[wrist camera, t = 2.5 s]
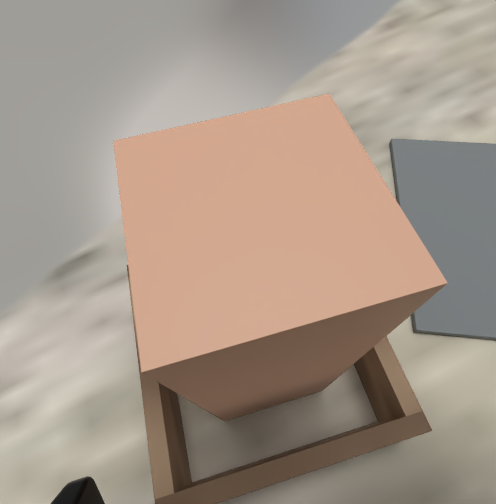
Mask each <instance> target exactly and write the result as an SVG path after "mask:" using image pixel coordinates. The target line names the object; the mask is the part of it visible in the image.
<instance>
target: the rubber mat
mask: <svg viewBox="0 0 496 504" xmlns="http://www.w3.org/2000/svg"><path fill="white" fill-rule="evenodd" d="M390 149H391V157H392V165H393V173H394V181H395V189H396V197H397V203H398V204H399V206H400V207H401V209H402V211H403V212H404V214H405V215H406V217H407V219H408V220H409V222H410V223H411V225H412V227H413V228H414V230H415V231H416V233H417V235H418V236H419V238H420V239H421V241H422V243H423V244H424V246H425V247H426V249H427V251H428V252H429V254H430V255H431V257H432V259H433V260H434V262H435V263H436V265H437V267H438V268H439V270H440V271H441V273H442V274H443V276H444V278H445V279H446V281H447V282H448V283H447V284H446V285H445V286H444V287H443V288H442V289H440V290H439V291H438V292H437V293H436V294H435V295H433V296H432V297H431V298H430V299H429V300H428V301H426V302H425V303H424V304H423V305H422V306H421V307H419V308H418V309H417V310H416V311H415V312H414V313H412V314H411V315H412V323H413V331H414V332H416V333H426V334H437V335H447V336H458V337H468V338H479V339H489V340H496V144H488V143H468V142H448V141H427V140H407V139H391V141H390Z"/></svg>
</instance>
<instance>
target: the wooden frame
mask: <svg viewBox="0 0 496 504" xmlns="http://www.w3.org/2000/svg"><path fill="white" fill-rule="evenodd" d="M127 271H128V279H129V288H130V296H131V305H132V313H133V322H134V330H135V338H136V347H137V355H138V364H139V372H140V380H141V389H142V397H143V406H144V414H145V423H146V431H147V439H148V448H149V456H150V465H151V473H152V481H153V490H154V498H155V504H217V503H220V502H223V501H226V500H229V499H232V498H235V497H238V496H241V495H244V494H247V493H249V492H252V491H255V490H258V489H261V488H264V487H267V486H270V485H273V484H276V483H279V482H282V481H285V480H288V479H291V478H294V477H297V476H300V475H303V474H306V473H309V472H312V471H314V470H317V469H320V468H323V467H326V466H329V465H332V464H335V463H338V462H341V461H344V460H347V459H350V458H353V457H356V456H359V455H362V454H365V453H368V452H371V451H374V450H376V449H379V448H382V447H385V446H388V445H391V444H394V443H397V442H400V441H403V440H406V439H409V438H412V437H415V436H418V435H421V434H424V433H427V432H430V431H432V429H431V427H430V425H429V423H428V421H427V419H426V417H425V415H424V413H423V411H422V409H421V407H420V405H419V403H418V400H417V398H416V396H415V394H414V392H413V390H412V388H411V386H410V384H409V382H408V380H407V378H406V376H405V374H404V372H403V370H402V368H401V366H400V363H399V361H398V359H397V357H396V355H395V353H394V351H393V349H392V347H391V345H390V343H389V341H388V339H387V337H384V338H383V339H382V340H381V341H380V342H379V343H377V344H376V345H375V346H374V347H373V348H372V349H370V350H369V351H368V352H367V353H366V354H364V355H363V356H362V357H361V358H360V359H359V360H357V361H356V362H355V363H354V364H355V367H356V369H357V372H358V374H359V376H360V379H361V381H362V383H363V386H364V388H365V391H366V393H367V395H368V398H369V400H370V402H371V405H372V407H373V409H374V412H375V414H376V417H377V419H378V422H375V423H372V424H369V425H366V426H363V427H360V428H357V429H354V430H351V431H348V432H345V433H342V434H339V435H336V436H333V437H330V438H326V439H323V440H320V441H317V442H314V443H311V444H308V445H305V446H302V447H299V448H296V449H293V450H290V451H287V452H284V453H281V454H278V455H275V456H272V457H269V458H266V459H263V460H260V461H257V462H254V463H251V464H248V465H245V466H242V467H238V468H235V469H232V470H229V471H226V472H223V473H220V474H217V475H214V476H211V477H208V478H205V479H202V480H199V481H196V482H193V483H192V481H191V475H190V469H189V463H188V457H187V451H186V445H185V439H184V433H183V427H182V421H181V415H180V409H179V403H178V397H177V393H176V392H174V391H172V390H171V389H169V388H167V387H166V386H164V385H162V384H160V383H159V382H157V381H155V380H154V379H152V378H150V377H148V376H147V375H145V374H143V373H142V372H141V365H140V357H139V349H138V341H137V332H136V324H135V316H134V308H133V299H132V291H131V283H130V275H129V266H128V265H127Z"/></svg>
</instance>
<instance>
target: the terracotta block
mask: <svg viewBox="0 0 496 504" xmlns="http://www.w3.org/2000/svg"><path fill="white" fill-rule="evenodd" d="M113 143H114V151H115V159H116V168H117V175H118V184H119V192H120V200H121V209H122V217H123V225H124V233H125V242H126V250H127V258H128V266H129V275H130V283H131V291H132V299H133V308H134V316H135V324H136V332H137V341H138V349H139V357H140V365H141V372H142V373H143V374H145V375H147V376H148V377H150V378H152V379H154V380H155V381H157V382H159V383H160V384H162V385H164V386H166V387H167V388H169V389H171V390H172V391H174V392H176V393H178V394H179V395H181V396H183V397H184V398H186V399H188V400H190V401H191V402H193V403H195V404H196V405H198V406H200V407H202V408H203V409H205V410H207V411H208V412H210V413H212V414H214V415H215V416H217V417H219V418H220V419H222V420H224V421H226V420H230V419H233V418H236V417H239V416H242V415H245V414H249V413H252V412H255V411H258V410H261V409H265V408H268V407H271V406H274V405H277V404H281V403H284V402H287V401H290V400H293V399H296V398H300V397H303V396H306V395H309V394H312V393H316V392H319V391H322V390H324V389H325V388H326V387H327V386H328V385H329V384H331V383H332V382H333V381H334V380H335V379H336V378H338V377H339V376H340V375H341V374H342V373H343V372H345V371H346V370H347V369H348V368H349V367H350V366H352V365H353V364H354V363H355V362H356V361H357V360H359V359H360V358H361V357H362V356H363V355H364V354H366V353H367V352H368V351H369V350H370V349H372V348H373V347H374V346H375V345H376V344H377V343H379V342H380V341H381V340H382V339H383V338H384V337H386V336H387V335H388V334H389V333H390V332H391V331H393V330H394V329H395V328H396V327H397V326H398V325H400V324H401V323H402V322H403V321H404V320H405V319H407V318H408V317H409V316H410V315H411V314H412V313H414V312H415V311H416V310H417V309H418V308H419V307H421V306H422V305H423V304H424V303H425V302H426V301H428V300H429V299H430V298H431V297H432V296H433V295H435V294H436V293H437V292H438V291H439V290H440V289H442V288H443V287H444V286H445V285H446V284H447V283H448V282H447V281H446V279H445V278H444V276H443V274H442V273H441V271H440V270H439V268H438V267H437V265H436V263H435V262H434V260H433V259H432V257H431V255H430V254H429V252H428V251H427V249H426V247H425V246H424V244H423V243H422V241H421V239H420V238H419V236H418V235H417V233H416V231H415V230H414V228H413V227H412V225H411V223H410V222H409V220H408V219H407V217H406V215H405V214H404V212H403V211H402V209H401V207H400V206H399V204H398V203H397V201H396V199H395V198H394V196H393V195H392V193H391V191H390V190H389V188H388V187H387V185H386V183H385V182H384V180H383V179H382V177H381V175H380V174H379V172H378V171H377V169H376V167H375V166H374V164H373V163H372V161H371V159H370V158H369V156H368V155H367V153H366V151H365V150H364V148H363V147H362V145H361V143H360V142H359V140H358V139H357V137H356V136H355V134H354V132H353V131H352V129H351V128H350V126H349V124H348V123H347V121H346V120H345V118H344V116H343V115H342V113H341V112H340V110H339V108H338V107H337V105H336V104H335V102H334V100H333V99H332V97H331V96H330V94H325V95H321V96H316V97H312V98H307V99H303V100H298V101H293V102H289V103H284V104H280V105H275V106H271V107H266V108H261V109H257V110H252V111H248V112H243V113H239V114H234V115H229V116H225V117H221V118H216V119H211V120H207V121H202V122H198V123H193V124H189V125H184V126H179V127H175V128H170V129H166V130H161V131H156V132H152V133H147V134H143V135H139V136H134V137H129V138H124V139H120V140H115V141H113Z"/></svg>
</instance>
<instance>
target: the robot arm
mask: <svg viewBox="0 0 496 504" xmlns="http://www.w3.org/2000/svg"><path fill="white" fill-rule="evenodd" d="M51 504H105V503H104V501H103V499H102V496H101V494H100V492H99V490H98V488H97V486H96V483H95V481H94V480H93V478H91V477H84V478H81V479H78V480H74V481H72V482H70V483H68V484H67V485H66V486H65V487H64V488H63V489H62V491H61V492H60V493H59V494H58V495H57V497H56V498H55V499H54V500H53V501H52V503H51Z"/></svg>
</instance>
